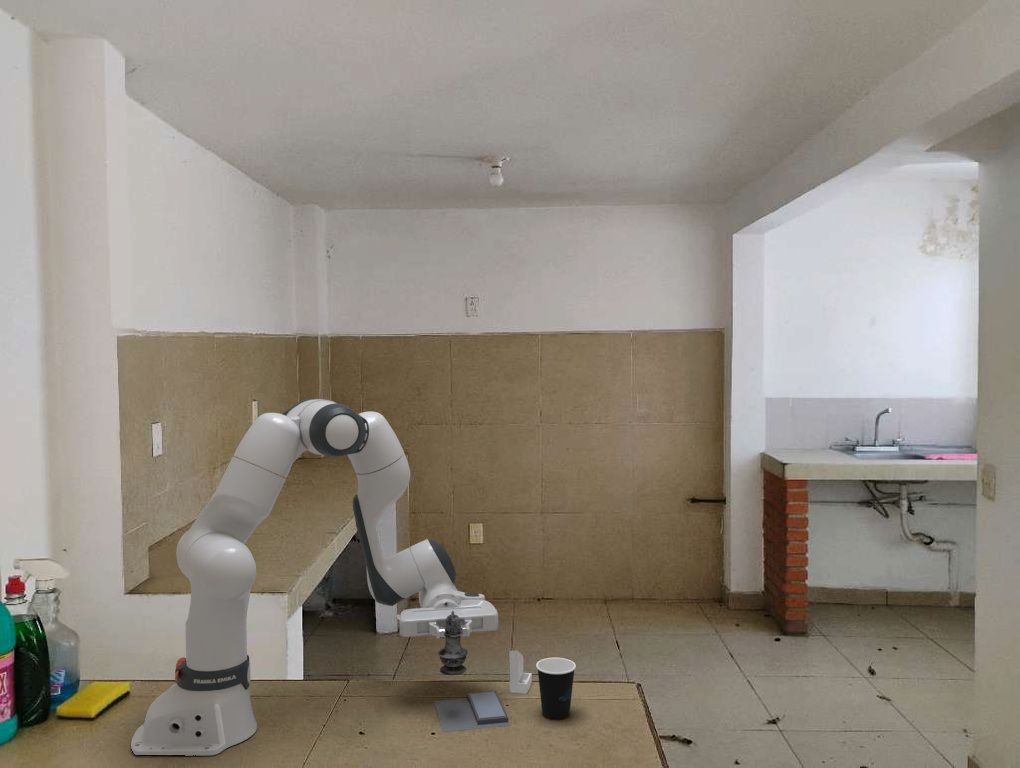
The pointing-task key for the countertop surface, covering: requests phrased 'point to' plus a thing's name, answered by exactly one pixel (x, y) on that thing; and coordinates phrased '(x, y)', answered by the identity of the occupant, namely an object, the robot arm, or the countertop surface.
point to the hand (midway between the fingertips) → (453, 633)
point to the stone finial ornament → (452, 648)
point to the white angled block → (518, 674)
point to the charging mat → (459, 716)
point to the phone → (487, 707)
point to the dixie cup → (555, 686)
